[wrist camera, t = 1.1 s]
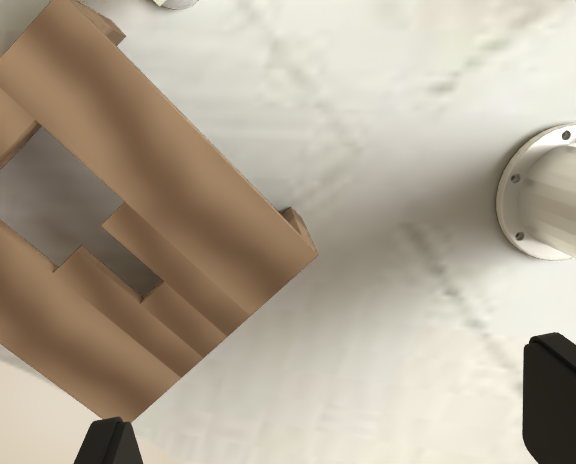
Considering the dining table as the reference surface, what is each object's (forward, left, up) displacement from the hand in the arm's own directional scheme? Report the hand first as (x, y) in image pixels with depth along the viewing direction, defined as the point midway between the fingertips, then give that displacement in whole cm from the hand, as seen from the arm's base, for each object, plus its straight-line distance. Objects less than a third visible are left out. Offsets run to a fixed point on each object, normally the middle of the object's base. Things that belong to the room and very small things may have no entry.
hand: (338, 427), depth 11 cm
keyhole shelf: (+10, -7, -31) cm, 33 cm away
